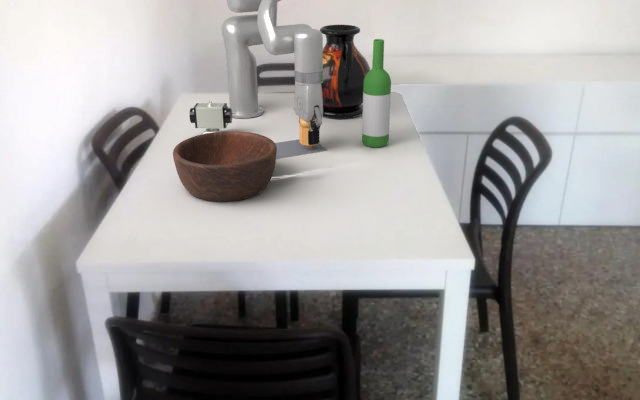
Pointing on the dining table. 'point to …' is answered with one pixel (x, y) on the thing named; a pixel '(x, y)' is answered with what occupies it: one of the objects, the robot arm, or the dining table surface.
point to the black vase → (342, 73)
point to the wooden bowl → (225, 164)
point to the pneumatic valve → (211, 116)
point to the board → (296, 149)
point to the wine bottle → (376, 101)
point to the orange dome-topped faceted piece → (304, 131)
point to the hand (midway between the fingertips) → (309, 140)
